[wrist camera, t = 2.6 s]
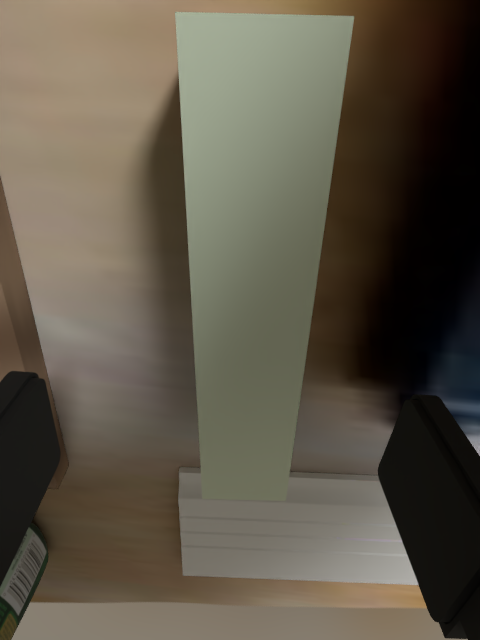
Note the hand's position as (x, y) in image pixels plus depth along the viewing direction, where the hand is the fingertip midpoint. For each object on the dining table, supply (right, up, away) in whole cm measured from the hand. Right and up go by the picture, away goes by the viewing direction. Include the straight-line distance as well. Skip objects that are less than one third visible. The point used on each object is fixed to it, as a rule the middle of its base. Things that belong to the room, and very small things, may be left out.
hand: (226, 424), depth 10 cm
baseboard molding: (+12, -10, +15) cm, 22 cm away
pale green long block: (+1, +4, +5) cm, 7 cm away
